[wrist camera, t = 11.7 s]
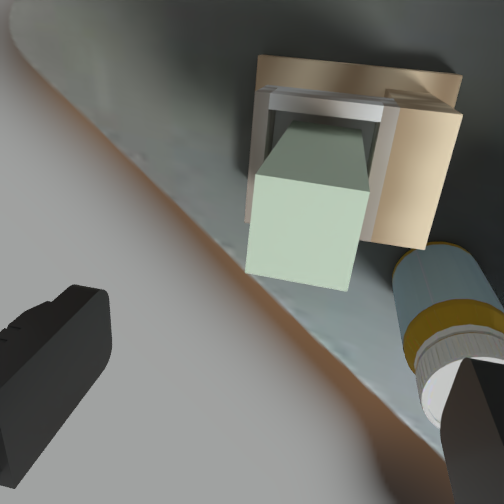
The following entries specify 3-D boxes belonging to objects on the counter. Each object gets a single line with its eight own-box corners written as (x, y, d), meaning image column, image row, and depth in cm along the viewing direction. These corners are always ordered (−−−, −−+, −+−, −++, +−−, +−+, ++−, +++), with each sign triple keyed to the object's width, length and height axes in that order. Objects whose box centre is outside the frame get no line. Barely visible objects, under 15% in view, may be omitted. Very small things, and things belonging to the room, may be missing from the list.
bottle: (446, 222, 36) (502, 327, 23) (494, 282, 38) (574, 415, 24) (374, 268, 39) (387, 386, 26) (422, 323, 40) (457, 461, 27)
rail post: (361, 129, 26) (369, 191, 15) (347, 194, 28) (347, 291, 17) (293, 120, 26) (255, 174, 16) (284, 184, 28) (244, 272, 17)
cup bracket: (456, 73, 32) (511, 90, 21) (421, 206, 36) (451, 275, 25) (263, 54, 34) (222, 61, 23) (251, 182, 38) (213, 237, 27)
